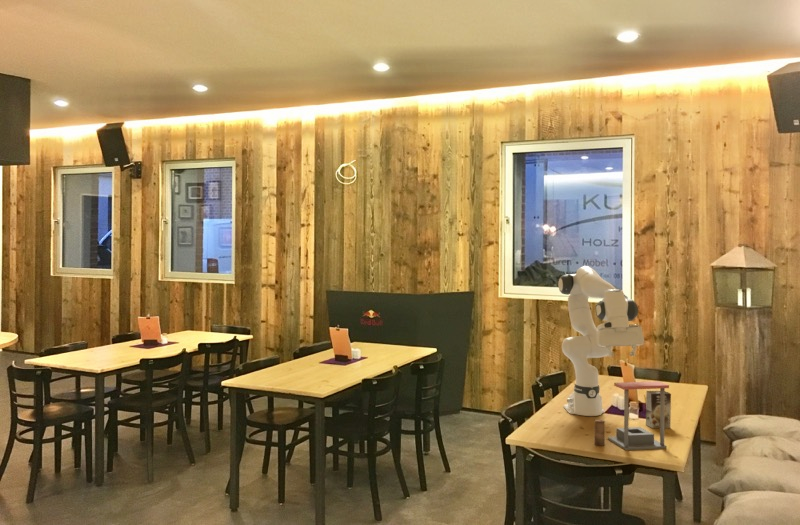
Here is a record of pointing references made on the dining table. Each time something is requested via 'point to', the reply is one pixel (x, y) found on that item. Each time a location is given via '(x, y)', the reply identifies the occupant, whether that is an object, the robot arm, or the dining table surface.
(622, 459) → the dining table surface
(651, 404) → the coffee box
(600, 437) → the walnut peg
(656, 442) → the socket stand
